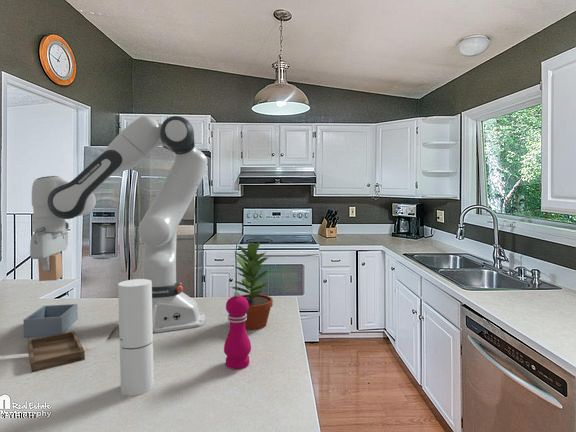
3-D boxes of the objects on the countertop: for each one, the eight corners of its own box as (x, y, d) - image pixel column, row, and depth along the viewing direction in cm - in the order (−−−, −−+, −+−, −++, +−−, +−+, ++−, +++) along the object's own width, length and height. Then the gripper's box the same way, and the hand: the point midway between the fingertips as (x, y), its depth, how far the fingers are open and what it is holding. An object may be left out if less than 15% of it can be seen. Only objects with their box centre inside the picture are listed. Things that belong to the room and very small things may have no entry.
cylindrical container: (145, 376, 91) (143, 277, 90) (158, 387, 86) (156, 282, 85) (116, 387, 86) (113, 282, 85) (127, 399, 81) (125, 288, 80)
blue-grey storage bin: (78, 321, 130) (77, 303, 130) (62, 337, 116) (61, 317, 116) (44, 324, 128) (43, 305, 128) (24, 340, 114) (23, 319, 113)
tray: (28, 348, 108) (27, 340, 108) (75, 338, 115) (74, 331, 115) (31, 372, 93) (31, 362, 93) (84, 359, 101) (84, 350, 101)
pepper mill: (239, 373, 93) (239, 295, 92) (218, 366, 97) (217, 291, 96) (256, 362, 100) (256, 289, 98) (235, 355, 103) (235, 285, 102)
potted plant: (262, 314, 138) (262, 235, 136) (279, 328, 125) (279, 240, 123) (223, 320, 132) (223, 237, 130) (237, 335, 118) (237, 243, 116)
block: (62, 276, 124) (61, 253, 123) (56, 280, 119) (55, 255, 118) (45, 277, 123) (44, 253, 122) (39, 281, 118) (38, 256, 117)
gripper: (46, 228, 110) (48, 274, 111) (70, 223, 130) (72, 262, 131) (22, 229, 109) (24, 275, 110) (51, 223, 129) (52, 262, 130)
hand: (50, 268), depth 121 cm, fingers closed on block, 5 cm apart
